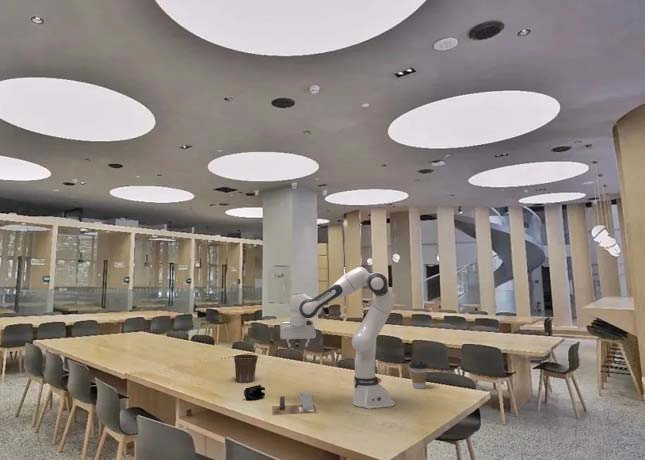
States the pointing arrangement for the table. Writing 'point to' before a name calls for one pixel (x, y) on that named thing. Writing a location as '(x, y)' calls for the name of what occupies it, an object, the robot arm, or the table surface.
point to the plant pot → (245, 367)
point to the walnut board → (289, 409)
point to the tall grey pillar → (306, 401)
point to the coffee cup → (418, 374)
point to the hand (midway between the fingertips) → (298, 347)
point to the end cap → (254, 393)
